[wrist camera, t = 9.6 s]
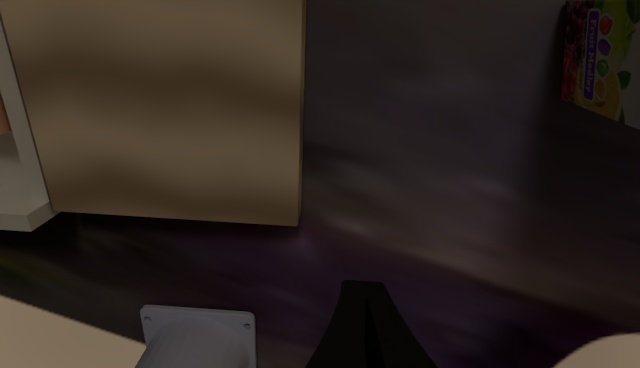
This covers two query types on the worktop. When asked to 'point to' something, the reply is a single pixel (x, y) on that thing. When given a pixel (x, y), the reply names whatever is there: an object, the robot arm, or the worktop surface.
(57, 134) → the board
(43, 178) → the tray
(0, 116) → the terracotta tile
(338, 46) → the worktop surface
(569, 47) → the snack box
